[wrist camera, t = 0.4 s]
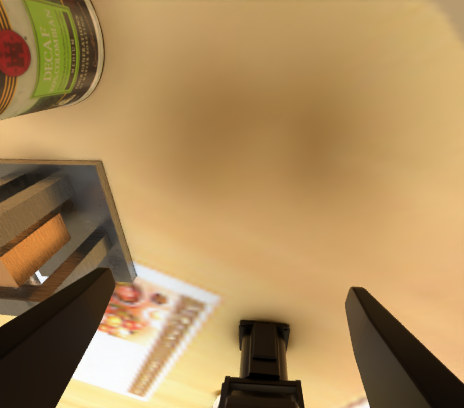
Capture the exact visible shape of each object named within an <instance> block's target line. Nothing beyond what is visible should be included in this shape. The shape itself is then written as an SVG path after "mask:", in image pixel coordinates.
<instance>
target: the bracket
mask: <svg viewBox="0 0 464 408" xmlns="http://www.w3.org/2000/svg"><path fill="white" fill-rule="evenodd" d="M49 212H57V213H60V214H61V216H62V219H63V221H64V223H65V225H66V228H67V230H68V232H69V234H70V237H71V240H69V241H68V242H67V243H66V244H65V245H64V246H63V247H62V248H61V249H60V250H59V251H58V252H57V253H56V254H55V255H53V256H52V257H51V258H50V259H49V260H48V261H47V262H46V263H45V264H44V265H43V266H42V267H41V268H40V269H38V270H39V272H40V273H41V275H42V276H49V277H48V278H47V279H46V280H45V281H44V282H43V283H42V284H41V285H28V284H22V285H21V286H20V287H19V288H17V287H5V286H0V314H1V315H12V316H19V315H21V314H22V313H24V312H25V311H27V310H29V309H30V308H32V307H34V306H35V305H37V304H39V303H40V302H42V301H43V300H45V299H47V298H48V297H50V296H52V295H53V294H55V293H57V292H58V291H60V290H62V289H63V288H65V287H66V286H68V285H70V284H71V283H73V282H75V281H76V280H78V279H80V278H81V277H83V276H84V275H86V274H88V273H89V272H91V271H93V270H94V269H96V268H98V267H109V268H110V269H111V271H112V274H113V277H114V280H115V281H119V282H132V283H133V281H134V280H135V278H136V273H135V270H134V266H133V263H132V260H131V257H130V253H129V250H128V247H127V243H126V240H125V237H124V234H123V230H122V227H121V224H120V221H119V217H118V214H117V211H116V208H115V204H114V201H113V198H112V195H111V191H110V188H109V185H108V181H107V178H106V175H105V172H104V168H103V165H102V162H101V161H62V160H5V159H0V248H1V247H2V246H4V245H5V244H6V243H8V242H9V241H11V240H12V239H13V238H15V237H16V236H18V235H19V234H20V233H22V232H23V231H24V230H26V229H27V228H29V227H30V226H31V225H33V224H34V223H36V222H37V221H38V220H40V219H41V218H43V217H44V216H45V215H47V214H48V213H49Z"/></svg>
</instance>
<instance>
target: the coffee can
mask: <svg viewBox="0 0 464 408" xmlns="http://www.w3.org/2000/svg"><path fill="white" fill-rule="evenodd" d="M103 61H104V49H103V39H102V33H101V29H100V25H99V21H98V19H97V16H96V13H95V10H94V8H93V6H92V4H91V2H90V0H0V120H3V119H7V118H11V117H16V116H20V115H24V114H29V113H34V112H38V111H42V110H47V109H51V108H55V107H60V106H70V105H73V104H76V103H78V102H80V101H82V100H84V99H85V98H87V97H88V96H89V95H90V94H91V93H92V91H93V90H94V89H95V87H96V85H97V83H98V81H99V79H100V76H101V73H102V68H103Z"/></svg>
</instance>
